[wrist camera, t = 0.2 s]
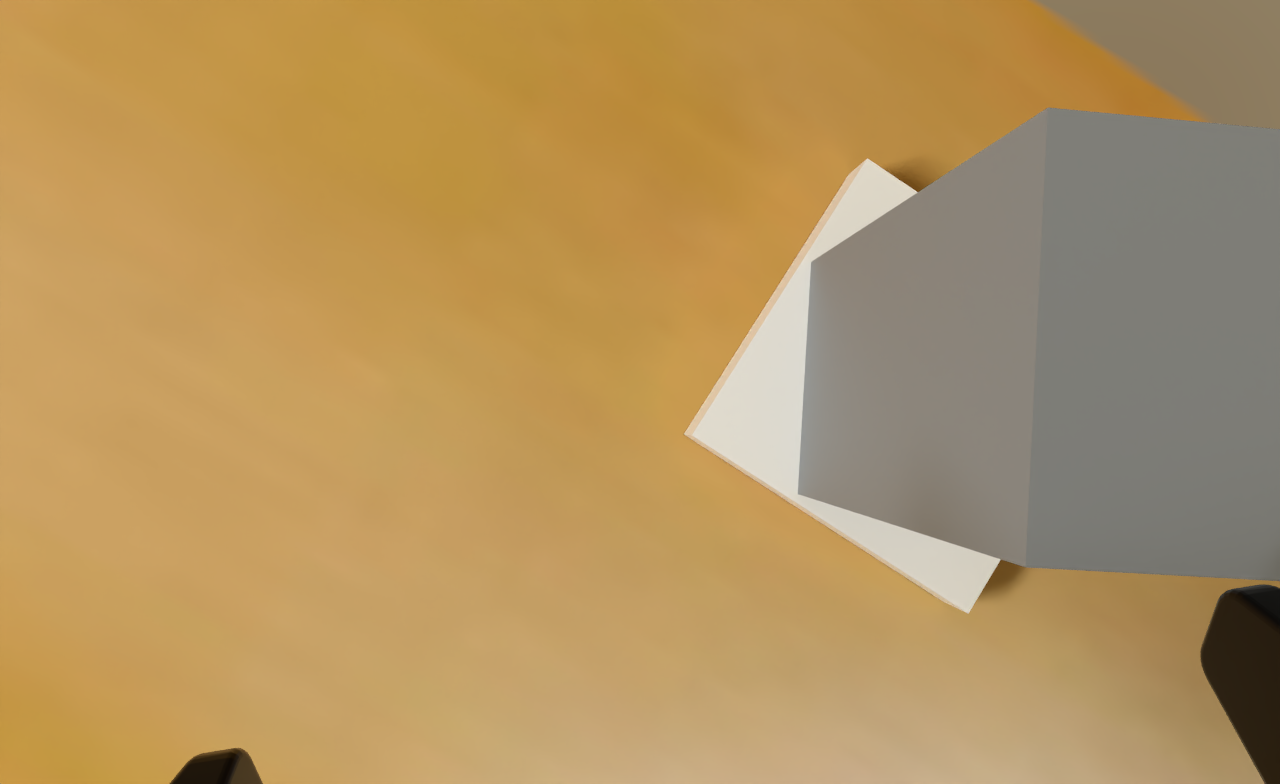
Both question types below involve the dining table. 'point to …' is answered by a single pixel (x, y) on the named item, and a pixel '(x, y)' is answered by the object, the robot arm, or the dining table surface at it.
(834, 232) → the base
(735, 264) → the dining table surface
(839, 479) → the tall grey box
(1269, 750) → the robot arm
